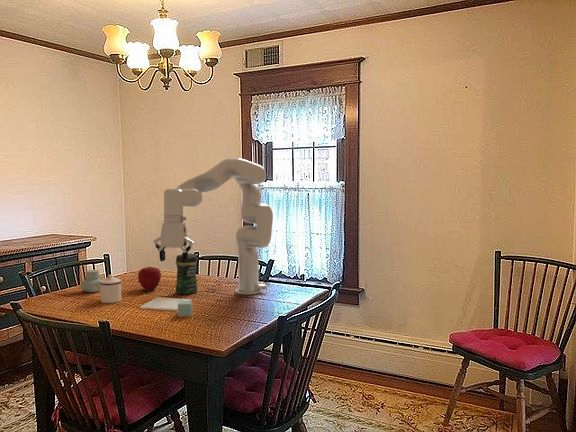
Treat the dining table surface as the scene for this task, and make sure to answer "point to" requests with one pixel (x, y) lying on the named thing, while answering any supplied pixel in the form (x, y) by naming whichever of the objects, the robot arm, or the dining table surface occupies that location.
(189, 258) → the coffee jar
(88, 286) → the air freshener
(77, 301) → the dining table surface
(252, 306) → the dining table surface
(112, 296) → the teacup with lid
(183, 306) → the block
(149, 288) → the apple
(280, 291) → the dining table surface
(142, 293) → the dining table surface
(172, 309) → the tile
